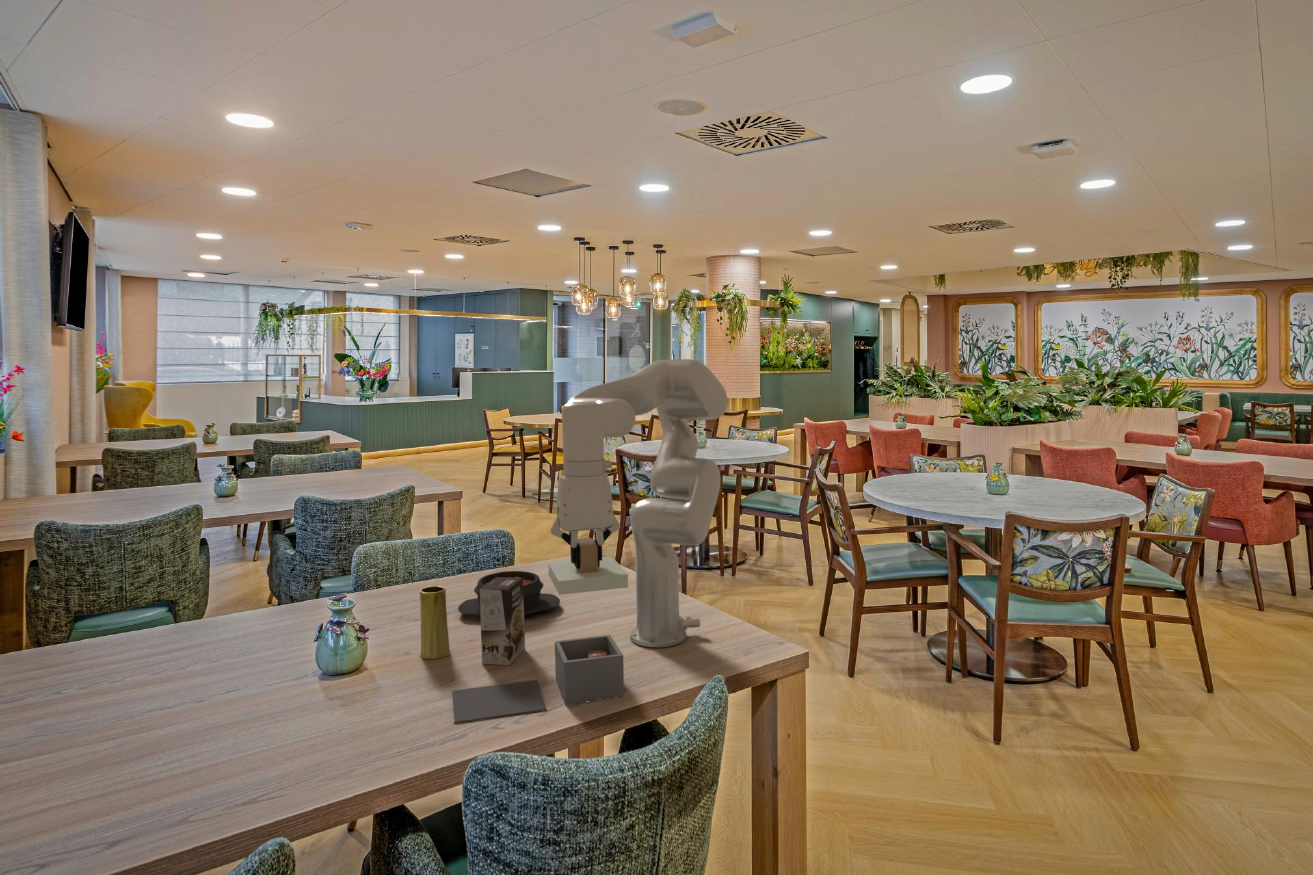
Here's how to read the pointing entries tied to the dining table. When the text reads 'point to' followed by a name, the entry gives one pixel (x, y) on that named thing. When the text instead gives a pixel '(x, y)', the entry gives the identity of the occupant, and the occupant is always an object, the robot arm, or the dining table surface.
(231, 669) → the dining table surface
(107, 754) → the dining table surface
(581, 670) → the storage box
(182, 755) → the dining table surface
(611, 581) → the lid
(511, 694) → the mat
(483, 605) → the coffee box
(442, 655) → the vase
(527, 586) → the casserole
